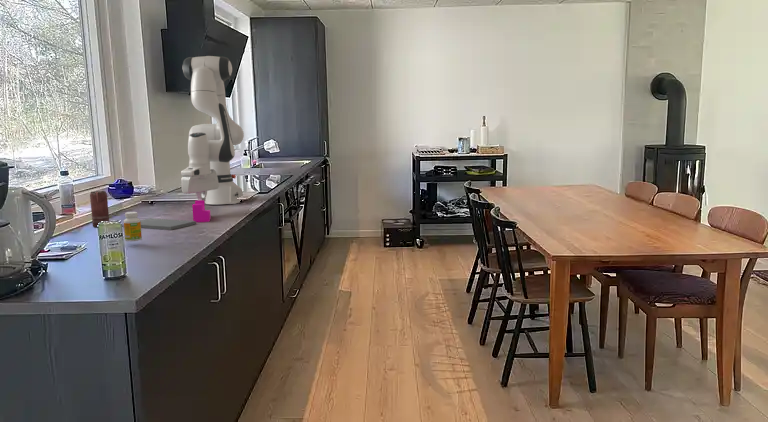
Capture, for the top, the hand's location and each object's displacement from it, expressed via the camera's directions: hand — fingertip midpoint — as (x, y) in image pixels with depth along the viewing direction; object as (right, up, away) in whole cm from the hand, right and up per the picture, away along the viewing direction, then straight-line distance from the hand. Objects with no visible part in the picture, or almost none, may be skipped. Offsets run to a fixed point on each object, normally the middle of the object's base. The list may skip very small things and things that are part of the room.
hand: (201, 201), depth 253 cm
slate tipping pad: (-10, -10, -22) cm, 26 cm away
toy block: (+3, -8, -8) cm, 12 cm away
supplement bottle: (-7, -14, -52) cm, 54 cm away
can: (-34, -10, -22) cm, 41 cm away
